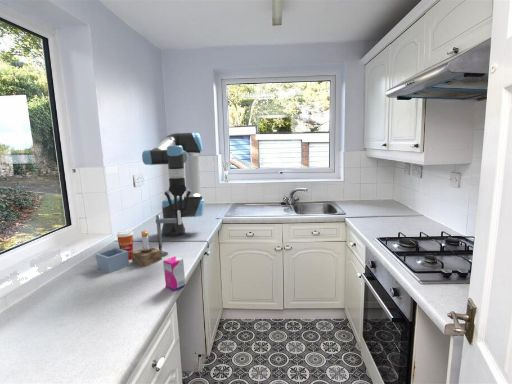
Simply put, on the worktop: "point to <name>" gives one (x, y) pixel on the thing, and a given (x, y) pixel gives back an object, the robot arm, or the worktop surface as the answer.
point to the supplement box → (174, 273)
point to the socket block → (146, 256)
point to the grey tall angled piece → (158, 221)
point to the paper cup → (126, 241)
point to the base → (164, 253)
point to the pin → (145, 241)
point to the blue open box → (112, 260)
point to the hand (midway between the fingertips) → (179, 223)
